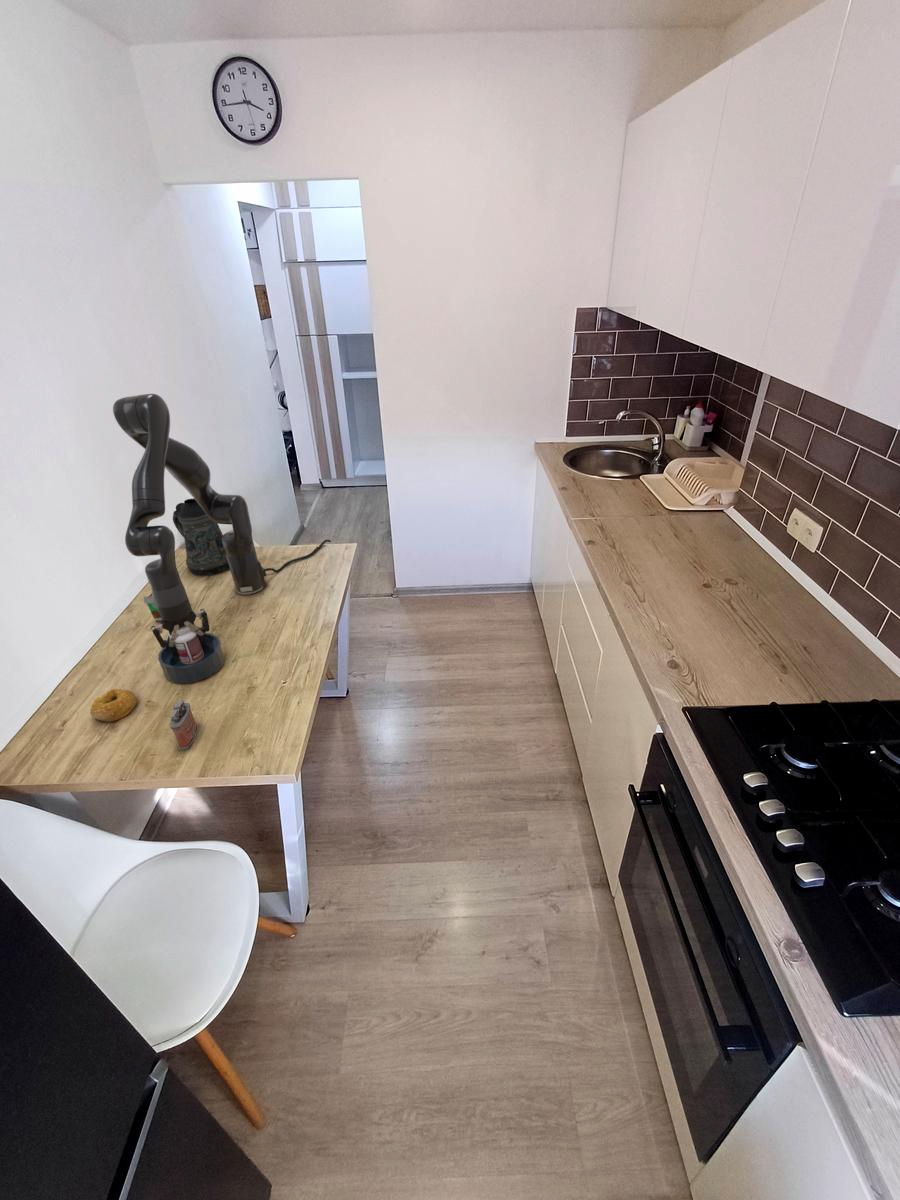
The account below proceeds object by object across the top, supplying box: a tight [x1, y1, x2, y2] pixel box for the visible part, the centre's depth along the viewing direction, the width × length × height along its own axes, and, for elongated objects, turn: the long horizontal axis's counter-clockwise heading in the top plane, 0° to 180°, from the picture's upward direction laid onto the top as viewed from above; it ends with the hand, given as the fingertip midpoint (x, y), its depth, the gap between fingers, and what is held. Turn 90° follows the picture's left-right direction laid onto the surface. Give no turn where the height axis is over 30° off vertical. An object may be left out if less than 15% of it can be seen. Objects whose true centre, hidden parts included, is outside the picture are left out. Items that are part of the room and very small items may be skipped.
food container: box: [143, 593, 162, 623], centre depth 178 cm, size 12×6×10 cm, turn 168°
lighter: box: [169, 698, 200, 752], centre depth 132 cm, size 8×3×10 cm, turn 5°
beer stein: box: [172, 498, 230, 577], centre depth 202 cm, size 16×19×25 cm
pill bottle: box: [174, 626, 204, 665], centre depth 153 cm, size 6×6×11 cm
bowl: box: [157, 632, 226, 684], centre depth 156 cm, size 16×16×6 cm
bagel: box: [90, 688, 138, 723], centre depth 143 cm, size 10×11×5 cm
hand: (190, 650), depth 155 cm, fingers closed on pill bottle, 6 cm apart
